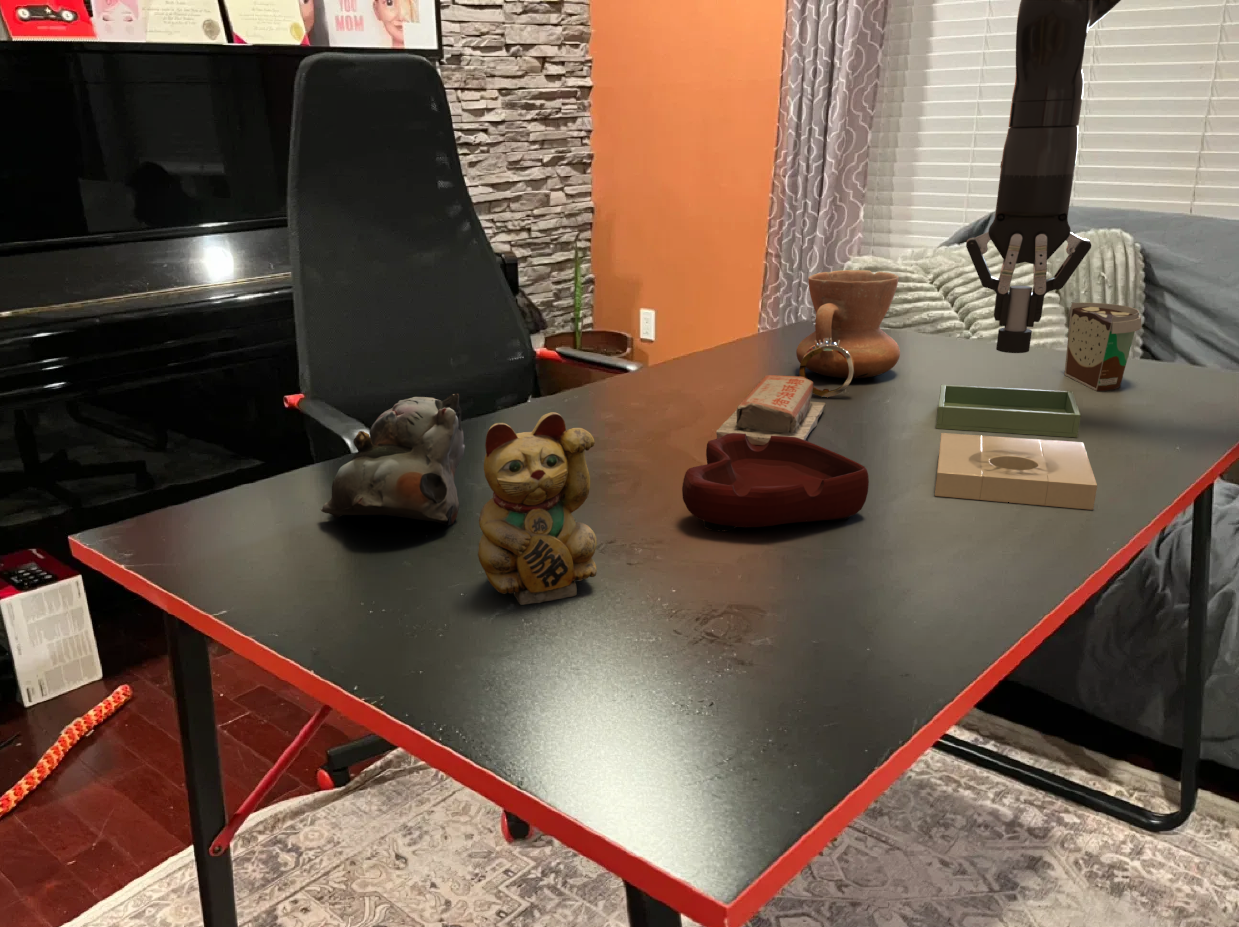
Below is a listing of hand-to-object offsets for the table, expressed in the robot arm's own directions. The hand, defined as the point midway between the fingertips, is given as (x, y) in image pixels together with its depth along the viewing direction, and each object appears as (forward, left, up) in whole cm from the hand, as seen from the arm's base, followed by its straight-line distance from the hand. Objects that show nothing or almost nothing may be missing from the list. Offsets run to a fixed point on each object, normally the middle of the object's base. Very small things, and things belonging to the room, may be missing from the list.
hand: (1016, 324), depth 119 cm
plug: (0, 0, -3) cm, 3 cm away
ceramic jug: (+21, -20, -12) cm, 31 cm away
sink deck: (0, +23, -12) cm, 26 cm away
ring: (+22, -6, -12) cm, 26 cm away
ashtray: (+21, +38, -12) cm, 45 cm away
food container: (-13, -23, -12) cm, 29 cm away
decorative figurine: (+37, +61, -12) cm, 72 cm away
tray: (0, 0, -12) cm, 12 cm away
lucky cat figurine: (+56, +50, -12) cm, 76 cm away
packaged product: (+26, +10, -12) cm, 30 cm away
